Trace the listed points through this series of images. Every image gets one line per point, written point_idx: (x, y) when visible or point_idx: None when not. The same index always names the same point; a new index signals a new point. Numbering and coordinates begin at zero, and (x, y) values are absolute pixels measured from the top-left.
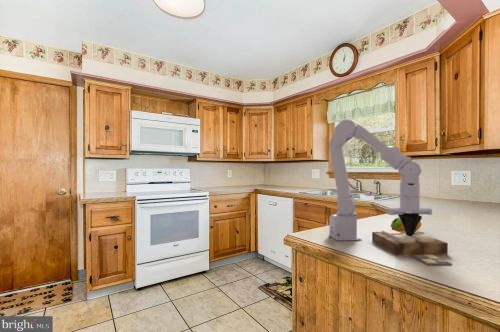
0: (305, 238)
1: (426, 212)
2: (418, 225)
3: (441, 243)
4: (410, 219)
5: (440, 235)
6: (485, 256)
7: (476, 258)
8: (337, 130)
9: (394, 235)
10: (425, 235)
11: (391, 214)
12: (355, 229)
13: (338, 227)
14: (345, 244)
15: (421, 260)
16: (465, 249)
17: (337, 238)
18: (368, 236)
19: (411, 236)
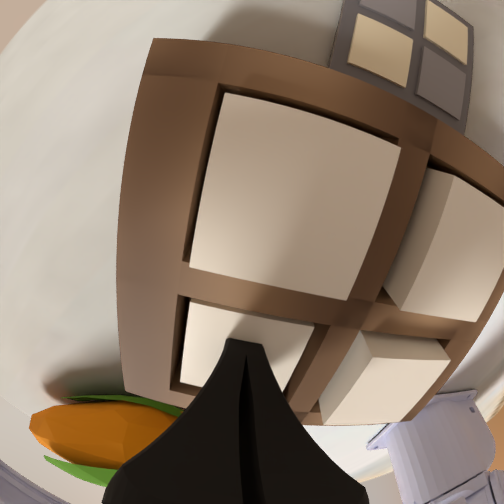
0: (496, 402)
1: (2, 481)
2: (52, 418)
3: (220, 43)
4: (323, 486)
5: (3, 342)
6: (31, 41)
7: (94, 5)
8: None
9: (477, 312)
10: (215, 237)
11: (463, 501)
12: (436, 437)
13: (482, 430)
14: (492, 356)
15: (469, 60)
16: (10, 150)
17: (469, 399)
18: (324, 434)
19: (260, 334)
